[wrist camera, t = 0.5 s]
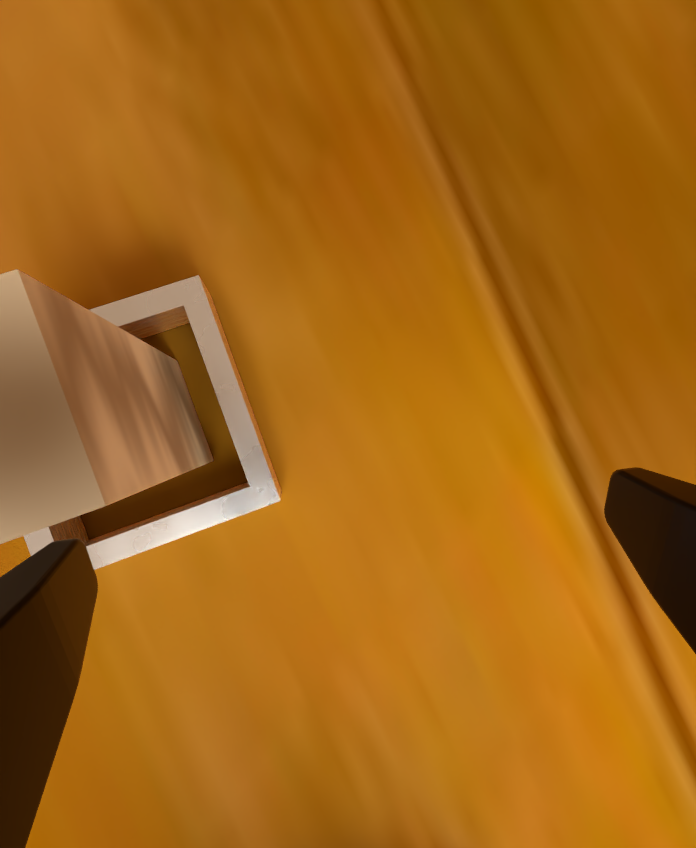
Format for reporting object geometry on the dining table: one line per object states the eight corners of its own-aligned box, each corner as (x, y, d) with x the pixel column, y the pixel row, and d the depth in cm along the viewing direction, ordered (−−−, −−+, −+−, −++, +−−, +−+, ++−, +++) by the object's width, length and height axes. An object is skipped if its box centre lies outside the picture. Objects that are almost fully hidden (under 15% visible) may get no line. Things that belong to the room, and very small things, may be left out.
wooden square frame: (281, 491, 24) (280, 500, 21) (75, 568, 23) (43, 588, 20) (210, 293, 24) (198, 275, 21) (-3, 362, 23) (-46, 352, 20)
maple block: (213, 460, 24) (105, 505, 10) (109, 497, 24) (-154, 599, 10) (177, 360, 24) (17, 269, 10) (72, 395, 23) (-251, 350, 10)
